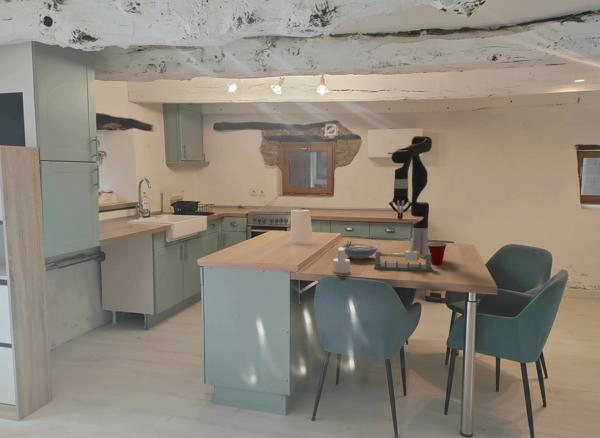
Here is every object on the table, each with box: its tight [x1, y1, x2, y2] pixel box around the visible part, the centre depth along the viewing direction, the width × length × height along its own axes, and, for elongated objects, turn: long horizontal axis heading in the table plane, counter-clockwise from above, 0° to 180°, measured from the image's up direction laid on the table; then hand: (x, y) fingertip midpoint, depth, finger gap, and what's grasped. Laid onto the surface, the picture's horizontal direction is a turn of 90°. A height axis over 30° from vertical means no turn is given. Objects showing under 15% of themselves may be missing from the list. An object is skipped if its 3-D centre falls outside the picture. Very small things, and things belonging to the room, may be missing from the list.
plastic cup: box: [427, 241, 448, 266], centre depth 255 cm, size 11×11×12 cm
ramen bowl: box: [339, 241, 379, 260], centre depth 270 cm, size 25×23×8 cm
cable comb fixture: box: [373, 250, 433, 273], centre depth 244 cm, size 30×12×9 cm, turn 77°
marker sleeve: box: [404, 237, 418, 262], centre depth 243 cm, size 6×5×12 cm
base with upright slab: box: [332, 246, 351, 274], centre depth 237 cm, size 9×9×12 cm
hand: (400, 219), depth 242 cm, fingers closed
